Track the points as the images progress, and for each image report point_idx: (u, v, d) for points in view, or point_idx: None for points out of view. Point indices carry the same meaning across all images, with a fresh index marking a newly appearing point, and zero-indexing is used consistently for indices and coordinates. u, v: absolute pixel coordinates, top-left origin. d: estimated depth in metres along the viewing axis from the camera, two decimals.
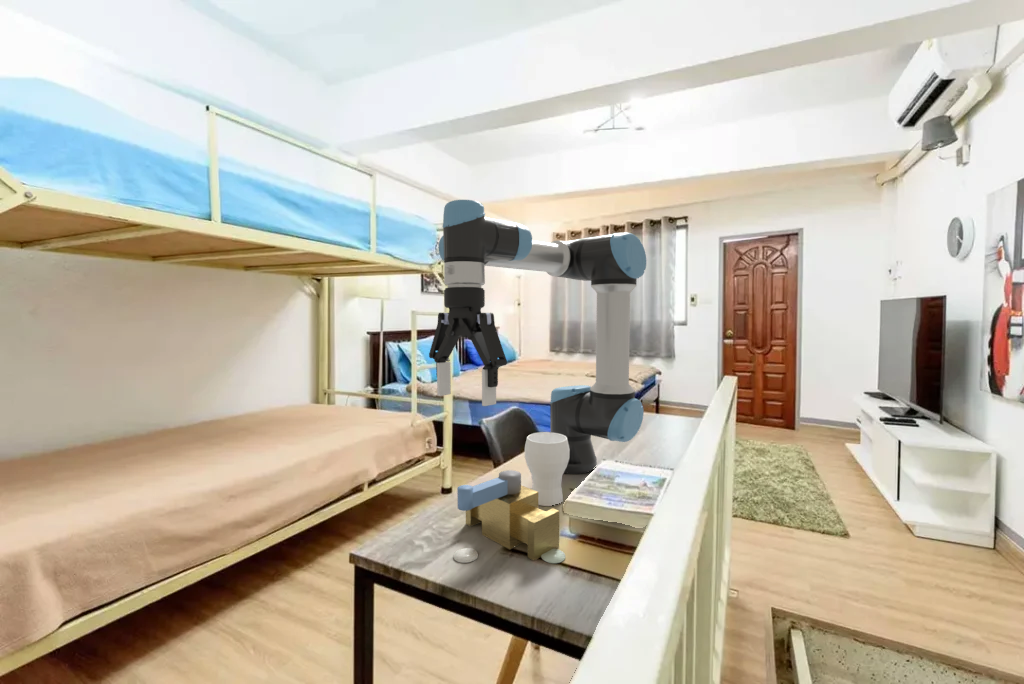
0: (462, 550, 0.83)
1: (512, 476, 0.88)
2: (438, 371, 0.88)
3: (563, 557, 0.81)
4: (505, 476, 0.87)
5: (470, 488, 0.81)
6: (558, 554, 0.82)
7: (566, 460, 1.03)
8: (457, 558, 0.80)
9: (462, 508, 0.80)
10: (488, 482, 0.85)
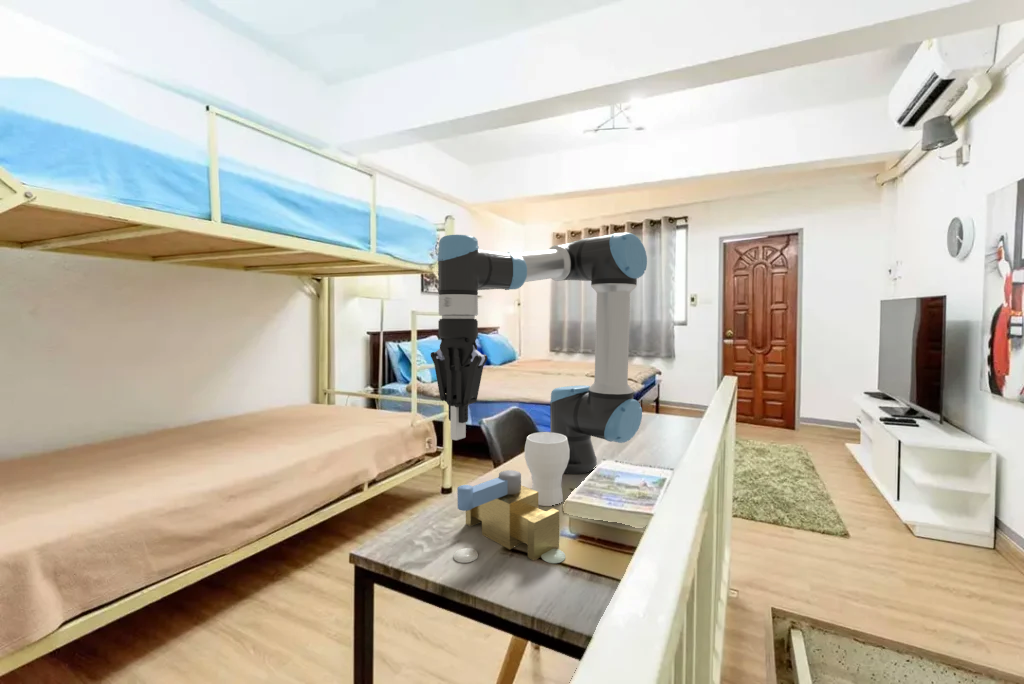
0: (462, 550, 0.83)
1: (512, 476, 0.88)
2: (452, 414, 0.86)
3: (563, 557, 0.81)
4: (505, 476, 0.87)
5: (470, 488, 0.81)
6: (558, 554, 0.82)
7: (566, 460, 1.03)
8: (457, 558, 0.80)
9: (462, 508, 0.80)
10: (488, 482, 0.85)
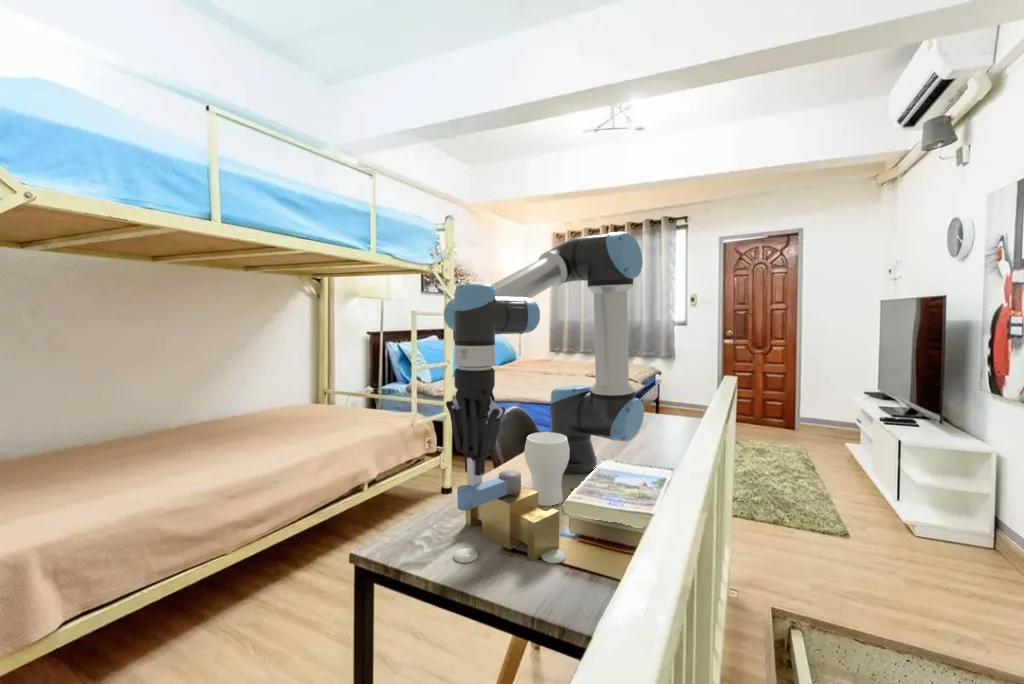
0: (462, 550, 0.83)
1: (512, 476, 0.88)
2: (468, 467, 0.84)
3: (563, 557, 0.81)
4: (505, 476, 0.87)
5: (470, 488, 0.81)
6: (558, 554, 0.82)
7: (566, 460, 1.03)
8: (457, 558, 0.80)
9: (462, 508, 0.80)
10: (488, 482, 0.85)
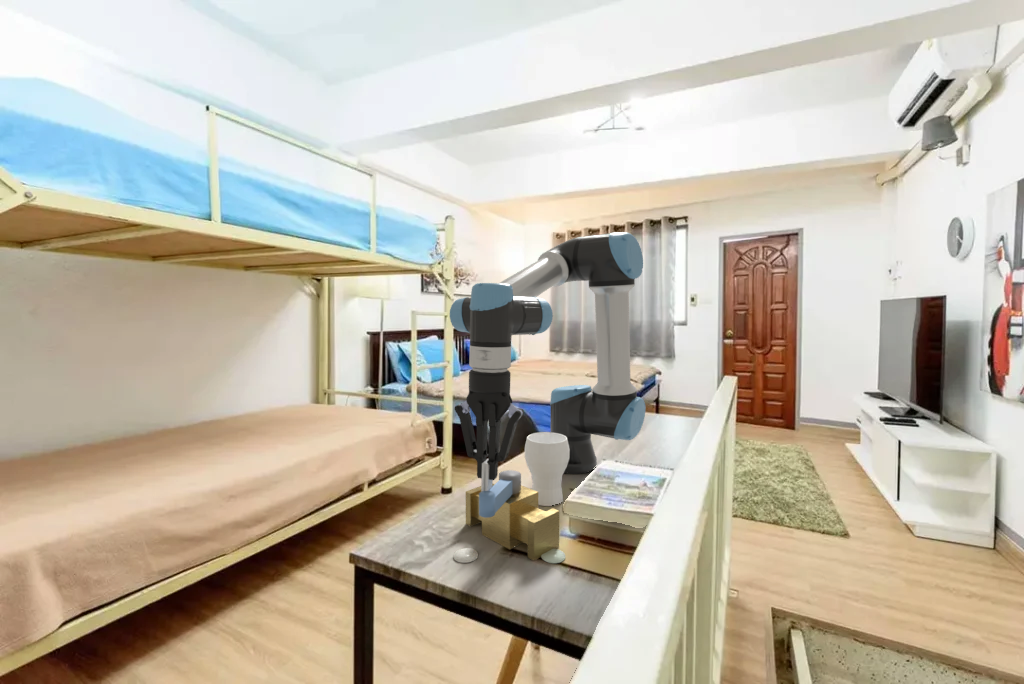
0: (462, 550, 0.83)
1: (515, 475, 0.88)
2: (483, 472, 0.81)
3: (563, 557, 0.81)
4: (508, 477, 0.87)
5: (492, 493, 0.78)
6: (558, 554, 0.82)
7: (566, 460, 1.03)
8: (457, 558, 0.80)
9: (488, 515, 0.77)
10: (497, 485, 0.84)
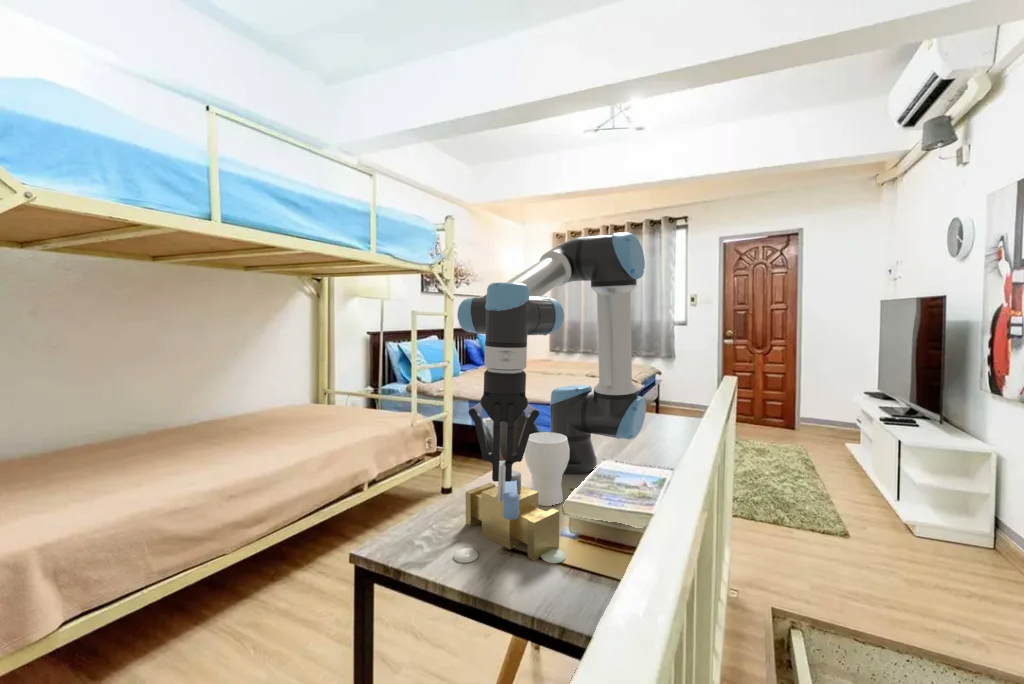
0: (462, 550, 0.83)
1: (516, 475, 0.88)
2: (500, 475, 0.80)
3: (563, 557, 0.81)
4: (512, 477, 0.87)
5: (516, 494, 0.78)
6: (558, 554, 0.82)
7: (566, 460, 1.03)
8: (457, 558, 0.80)
9: (515, 516, 0.77)
10: (507, 486, 0.84)
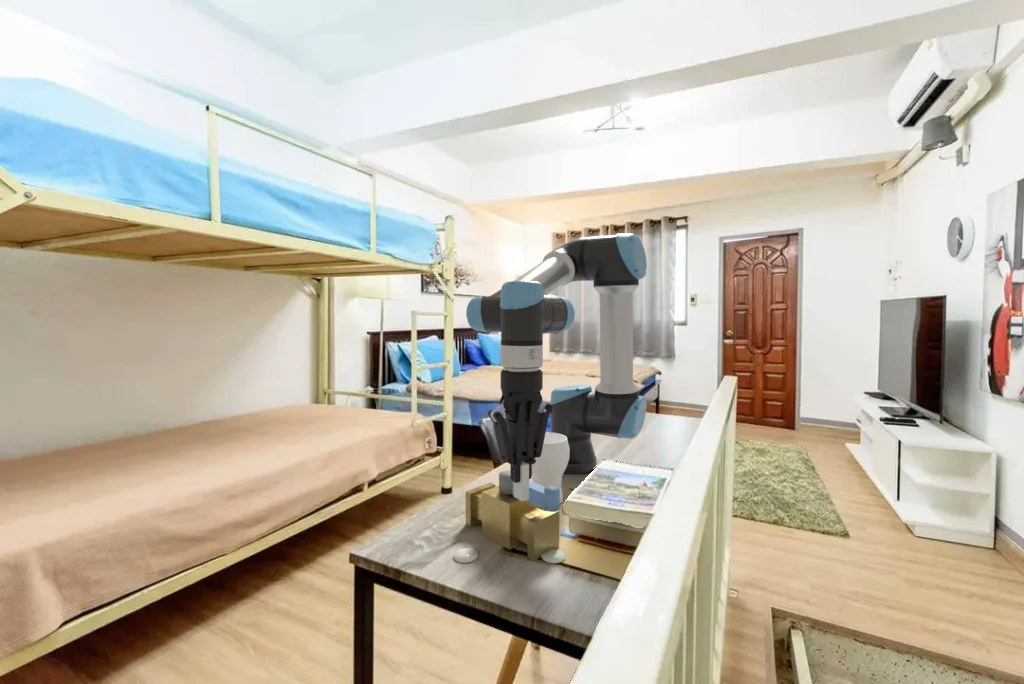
0: (462, 550, 0.83)
1: None
2: (524, 474, 0.79)
3: (563, 557, 0.81)
4: None
5: (553, 486, 0.81)
6: (558, 554, 0.82)
7: (566, 460, 1.03)
8: (457, 558, 0.80)
9: (559, 507, 0.80)
10: None
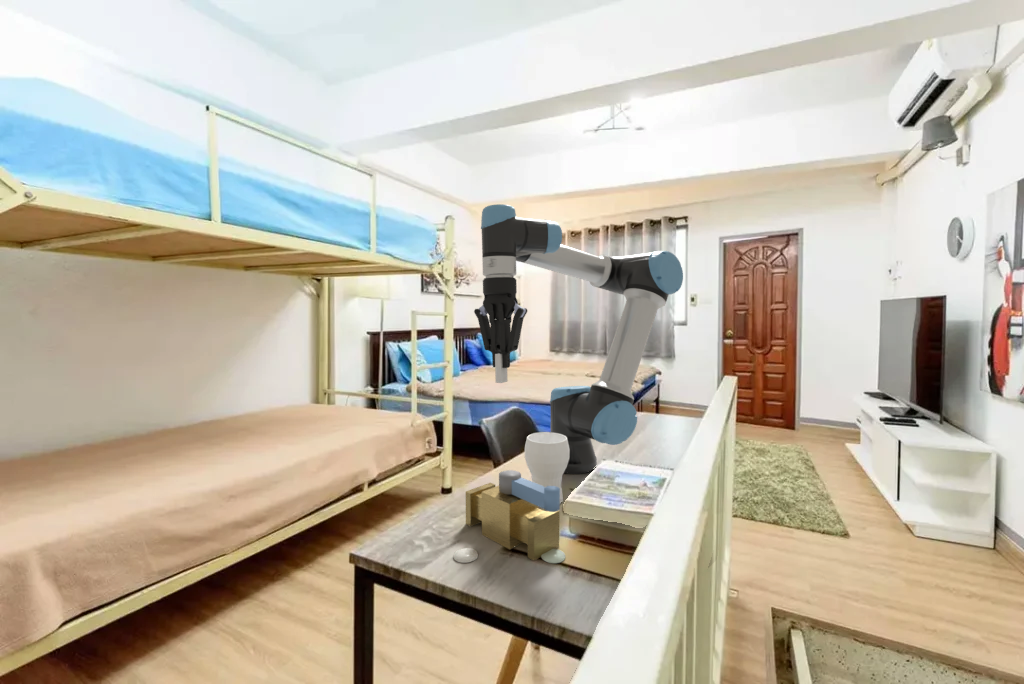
0: (462, 550, 0.83)
1: (516, 473, 0.89)
2: (496, 361, 1.00)
3: (563, 557, 0.81)
4: (517, 476, 0.88)
5: (553, 486, 0.81)
6: (558, 554, 0.82)
7: (566, 460, 1.03)
8: (457, 558, 0.80)
9: (559, 507, 0.80)
10: (526, 484, 0.85)
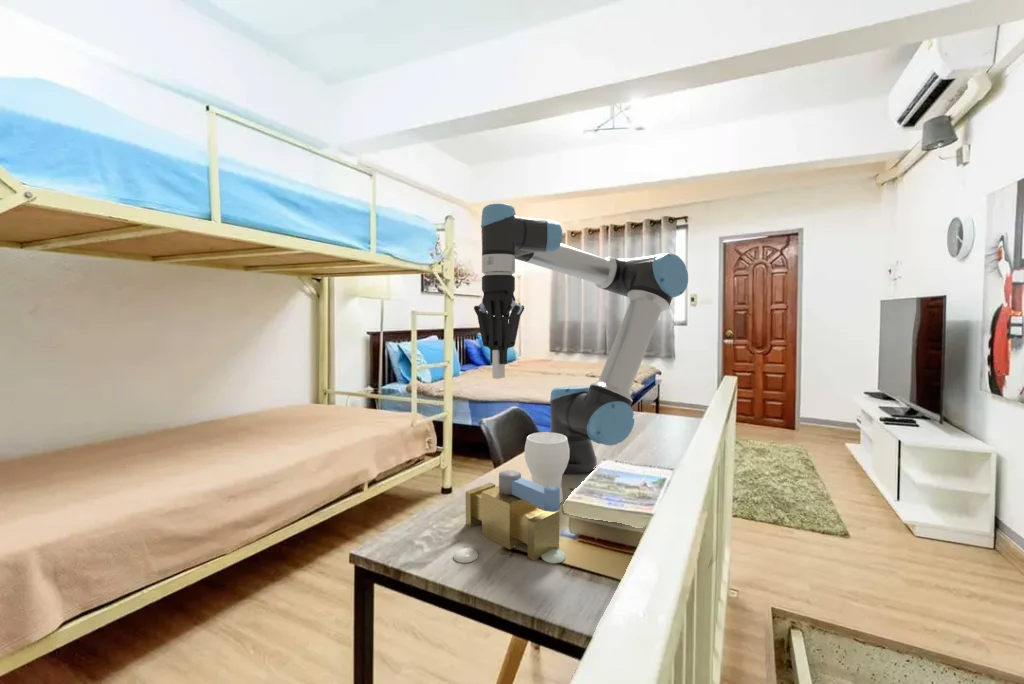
0: (462, 550, 0.83)
1: (516, 473, 0.89)
2: (493, 357, 1.02)
3: (563, 557, 0.81)
4: (517, 476, 0.88)
5: (553, 486, 0.81)
6: (558, 554, 0.82)
7: (566, 460, 1.03)
8: (457, 558, 0.80)
9: (559, 507, 0.80)
10: (526, 484, 0.85)
